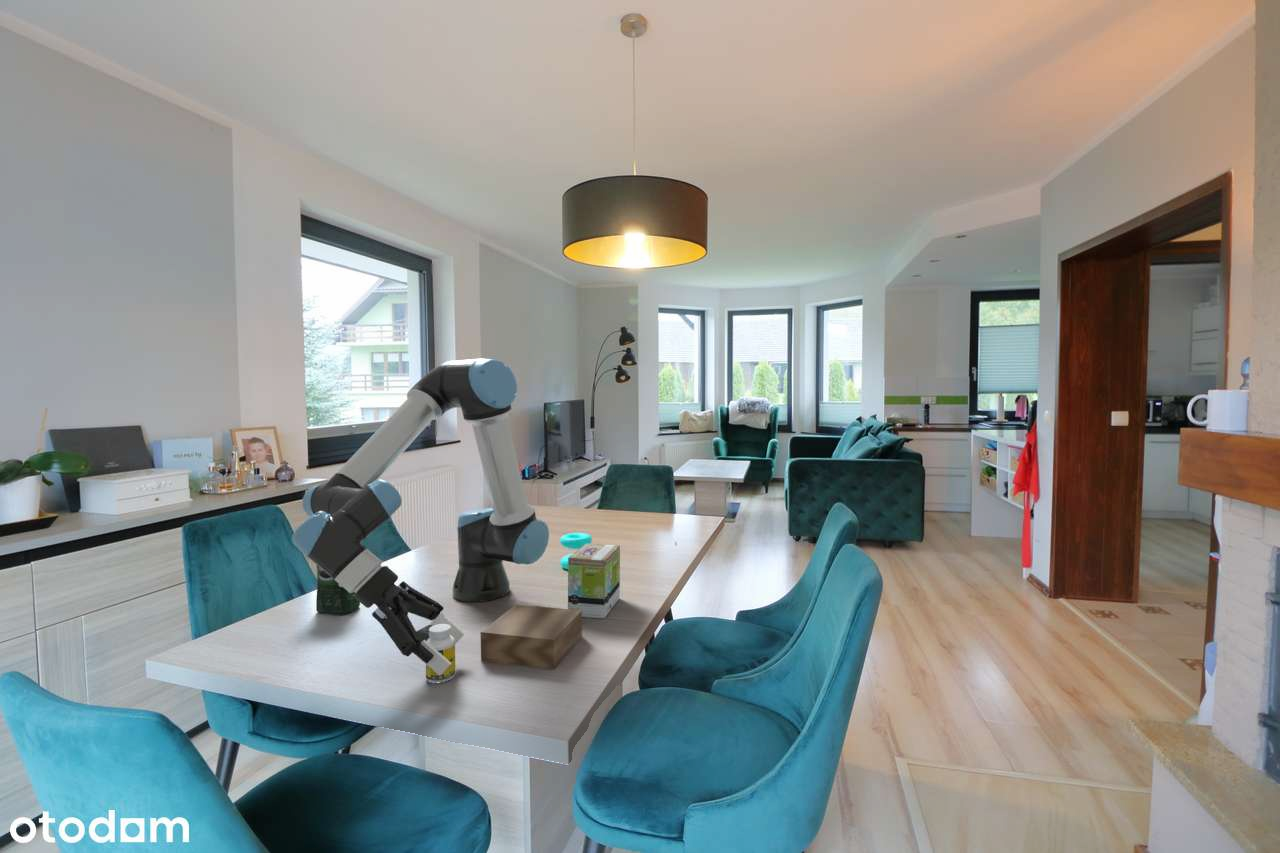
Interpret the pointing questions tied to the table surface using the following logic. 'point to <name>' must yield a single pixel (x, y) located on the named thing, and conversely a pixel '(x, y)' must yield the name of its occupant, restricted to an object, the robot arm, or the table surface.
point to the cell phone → (424, 633)
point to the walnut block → (531, 636)
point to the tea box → (594, 579)
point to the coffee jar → (333, 596)
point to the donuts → (573, 544)
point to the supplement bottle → (442, 651)
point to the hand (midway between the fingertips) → (453, 653)
